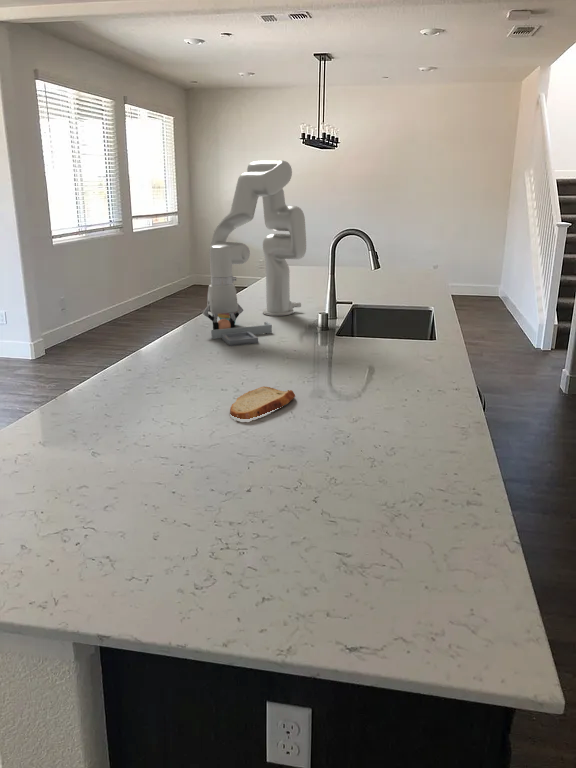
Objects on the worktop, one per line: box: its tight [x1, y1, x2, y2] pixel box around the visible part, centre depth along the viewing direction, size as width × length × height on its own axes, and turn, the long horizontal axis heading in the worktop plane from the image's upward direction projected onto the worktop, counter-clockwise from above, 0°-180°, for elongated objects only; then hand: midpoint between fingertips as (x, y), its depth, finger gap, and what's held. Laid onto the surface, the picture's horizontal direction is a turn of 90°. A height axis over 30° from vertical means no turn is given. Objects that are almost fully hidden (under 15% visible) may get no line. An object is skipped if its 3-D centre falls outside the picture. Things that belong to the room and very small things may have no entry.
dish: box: [221, 331, 259, 347], centre depth 218 cm, size 10×10×2 cm
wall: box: [210, 321, 273, 340], centre depth 228 cm, size 22×6×3 cm, turn 111°
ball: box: [217, 319, 231, 329], centre depth 229 cm, size 5×5×5 cm
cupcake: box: [217, 311, 238, 322], centre depth 240 cm, size 9×8×12 cm
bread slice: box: [229, 386, 296, 419], centre depth 156 cm, size 18×18×4 cm
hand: (224, 331), depth 229 cm, fingers closed on ball, 4 cm apart
